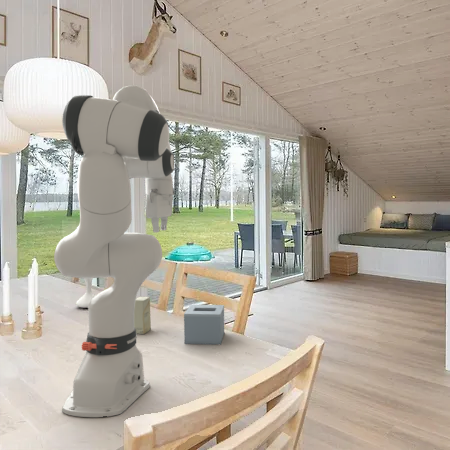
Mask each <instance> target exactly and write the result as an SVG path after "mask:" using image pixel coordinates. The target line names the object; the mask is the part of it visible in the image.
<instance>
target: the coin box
mask: <svg viewBox="0 0 450 450" xmlns="http://www.w3.org/2000/svg"><path fill="white" fill-rule="evenodd" d="M183 323H184V324H183V329H184V331H183V334H184V336H183V337H184V338H183V339H184V345H216V344H217V345H219V344H220V345H222V341H223V339H224V336H225V305H224V304H190V305H189V306H188V308H187V309H186V311H185V312H184V313H183ZM220 345H219V346H220Z"/></svg>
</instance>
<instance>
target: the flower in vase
mask: <svg viewBox="0 0 450 450" xmlns="http://www.w3.org/2000/svg"><path fill="white" fill-rule="evenodd" d="M93 279H94V278H83V280H84V282H85V293H84V294H83V295H82V296H81V297H79V299H78V300H76V302H75V306H76V307H78V308H81V309H82V308H84V309H86V308H87V309H88V306H89V303H90V301H91V299H92V298H93V297H94V296H96V295H97V294H94V293H93V291H92V284H93V283H92V282H93Z"/></svg>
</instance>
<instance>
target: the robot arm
mask: <svg viewBox="0 0 450 450" xmlns="http://www.w3.org/2000/svg"><path fill="white" fill-rule="evenodd" d="M61 122H62V129H63V132H64V135H65V136H66V139H67V140H68V141H67V142H69V143H70V144H71V147H72V150H73V151H74V153H76V154H77V155H79V156H82V158H81V159H80V161H79V164H78V171H77V182H76V183H77V198H78V207H79V224H78V226H77V227H76V228H75V230H74V231H72V233H70V234H68V235H67V236H64V237H62V239H60V241H58V243H57V245H56V247H55V249H54V255H53V256H54V257H53V258H54V259H53V260H54V264H55V267H56V269H57V270H58V271H59V273H61V274H62V276H64V277H69V278H75V279H84V278H93V279H97V278H100V279H101V278H112V279H113V280H114V281H113V283H112V284H111V286H109V287H108V288H106V289H104V290H102V291H101V292H99V293H97V294H95V295H96V296H94V297H93V298H92V299H91V301H90V303H89V306H88V308H87V311H88V312H87V313H88V314H87V315H88V332H87V335H86V336H87V337H86V340H85V341H83V342H82V343H81V350H82V351H85V353H84V356H83V358H82V360H81V363H80V364H79V368H78V370H77V373H76V375H75V377H74V380H73V385H72V387H73V388H72V391H71V392H70V393H69V395H68V397H67V398H66V400H65V402H64V403H63V406H62V409H61V412H62V413H63V414H66V415H69V416H73V417H81V418H83V417H84V418H103V416H107V417H112V416H117V415H120V414H122V413H123V412H125V411H126V410H127V408H129V407H130V406H131V405H132V404H133V403H134V402H135V401H137V399H138V398H139V397H140V396H141V395H143V393H145V391H147V390H148V389H149V388H150V387H151V383H150V381H149V380H147V379H145V373H144V372H145V371H144V361H143V353H142V352H141V351H140V350H139V349H138V347H137V337H138V336H137V334H136V329H135V328H134V309H135V300H136V298H137V294H138V292H139V290H140V288H141V286H142V285H143V283H144V282H145V281H146V280H147V278H149V276H151V274H153V273H155V271H156V270H157V269H158V268H159V267H160V265H161V262H162V259H163V249H162V246H161V243H160V241H159V240H158V239H157V237H156V236H155V235H152V234H148V233H143V232H142V233H140V232H127V231H128V230H129V228H130V226H131V224H132V220H133V219H132V218H133V214H132V212H133V211H132V187H131V181H130V180H131V179H144V180H145V195H146V200H145V201H146V204H145V216H146V218H147V219H151V220H150V222H151V225H152V231H153V233H159V232H160V231H166V230H167V228H168V227H167V225H168V217H171V216H172V214H173V204H174V202H173V201H174V200H173V199H174V198H173V196H174V195H175V189H174V185H173V176H172V173H174V171H175V154H174V153H173V152H172V148H171V142H169V141H170V127H169V126H170V125H169V123H168V121H167V119H166V118H165V117H164V115H163V114H161V112H160V110H159V108H158V105H157V103H156V102H155V100H154V99H153V97H152V96H151V94H150V93H149V92H148V90H147V89H145V88H143V87H141V86H138V85H127V86H123V87H122V88H120V89H118V90H117V91H116V93H115V94H114V95H113V98H112V99H111V98H103V97H95V96H93V95H85V94H82V95H81V94H80V95H79V94H78V95H74V96H73V97H72V98H70V100H69V101H67V103H66V105H65V107H64V109H63V114H62V121H61ZM159 222H160V223H159Z"/></svg>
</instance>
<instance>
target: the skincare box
mask: <svg viewBox="0 0 450 450" xmlns="http://www.w3.org/2000/svg"><path fill="white" fill-rule="evenodd" d="M151 320H152V319H151V297H150V296H138V297H136V300H135V309H134V328H135V329H136V334H138V335H145V334H146V333H147V332H149V331H150V330H151V328H152V324H151Z"/></svg>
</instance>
